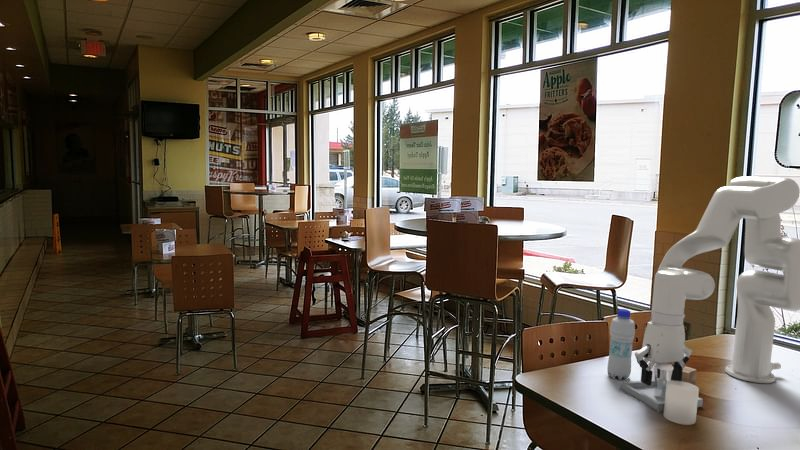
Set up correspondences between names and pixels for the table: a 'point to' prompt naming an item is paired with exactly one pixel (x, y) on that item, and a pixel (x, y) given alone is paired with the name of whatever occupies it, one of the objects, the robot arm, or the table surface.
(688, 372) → the walnut block
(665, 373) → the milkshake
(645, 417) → the table surface
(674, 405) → the white squat cylinder
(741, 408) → the table surface
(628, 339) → the bottle
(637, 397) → the tray
